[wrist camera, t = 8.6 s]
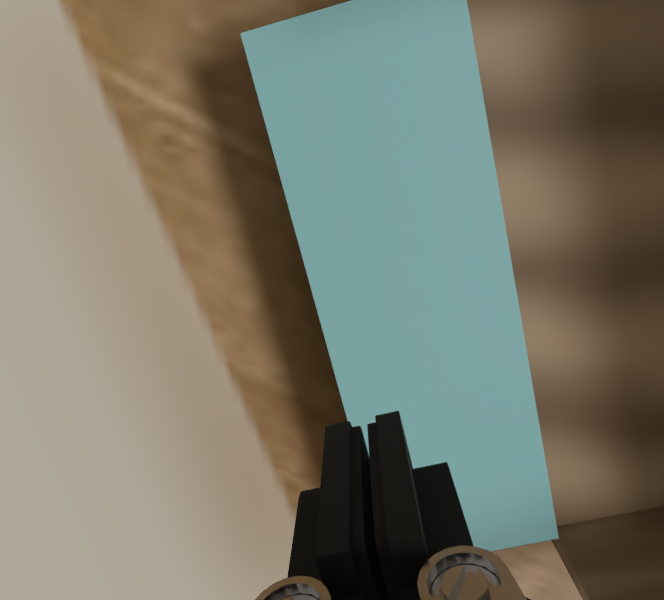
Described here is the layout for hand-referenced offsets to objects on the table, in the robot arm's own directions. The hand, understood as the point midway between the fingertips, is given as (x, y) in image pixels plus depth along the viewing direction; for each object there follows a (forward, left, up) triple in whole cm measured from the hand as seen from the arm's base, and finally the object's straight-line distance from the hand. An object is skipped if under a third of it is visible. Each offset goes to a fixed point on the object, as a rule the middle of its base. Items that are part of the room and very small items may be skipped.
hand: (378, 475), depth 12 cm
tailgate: (0, +6, -11) cm, 13 cm away
